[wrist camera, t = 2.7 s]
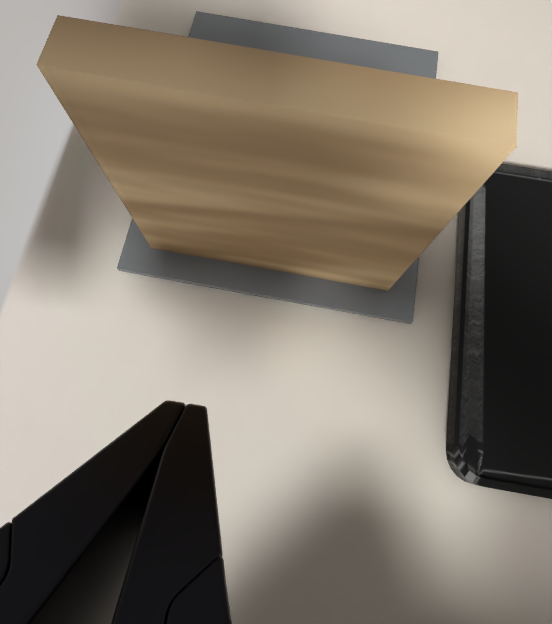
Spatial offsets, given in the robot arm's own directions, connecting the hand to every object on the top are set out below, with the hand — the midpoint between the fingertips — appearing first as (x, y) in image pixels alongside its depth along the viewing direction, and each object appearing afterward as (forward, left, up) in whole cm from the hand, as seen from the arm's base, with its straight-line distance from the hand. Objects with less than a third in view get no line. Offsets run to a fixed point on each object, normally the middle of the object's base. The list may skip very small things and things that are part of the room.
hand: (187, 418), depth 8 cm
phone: (+10, -11, -10) cm, 18 cm away
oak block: (+8, +1, -9) cm, 12 cm away
